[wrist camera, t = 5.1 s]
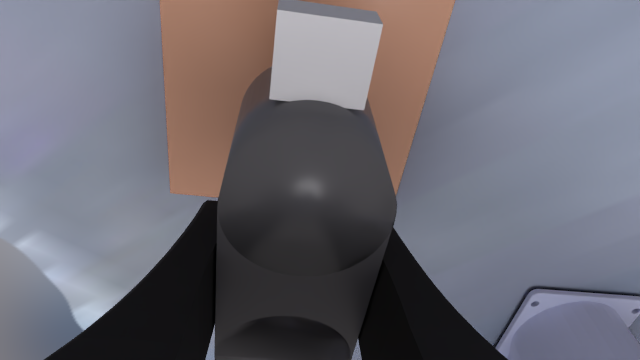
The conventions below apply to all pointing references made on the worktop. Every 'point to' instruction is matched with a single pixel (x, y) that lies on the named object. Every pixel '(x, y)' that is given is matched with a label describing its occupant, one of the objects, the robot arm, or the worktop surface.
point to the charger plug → (304, 194)
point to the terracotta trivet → (257, 56)
